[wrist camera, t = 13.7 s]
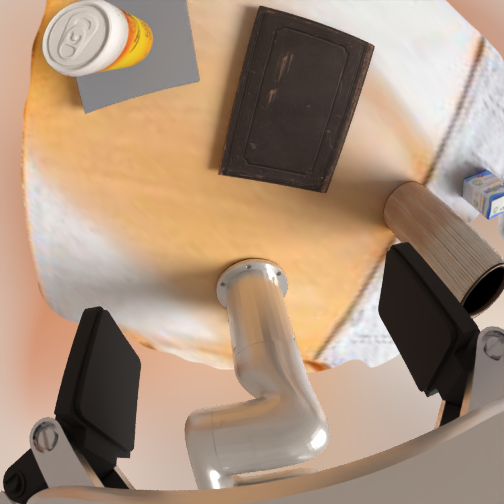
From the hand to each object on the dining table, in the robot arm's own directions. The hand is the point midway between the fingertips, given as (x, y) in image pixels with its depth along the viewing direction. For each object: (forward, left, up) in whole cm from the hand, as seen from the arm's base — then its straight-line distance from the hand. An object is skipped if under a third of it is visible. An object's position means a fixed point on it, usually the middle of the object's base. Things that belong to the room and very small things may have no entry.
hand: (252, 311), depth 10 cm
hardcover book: (0, -10, -34) cm, 35 cm away
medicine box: (-16, -48, -33) cm, 60 cm away
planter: (-19, -30, -33) cm, 48 cm away
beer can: (+12, +8, -29) cm, 32 cm away
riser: (+12, +8, -33) cm, 36 cm away
